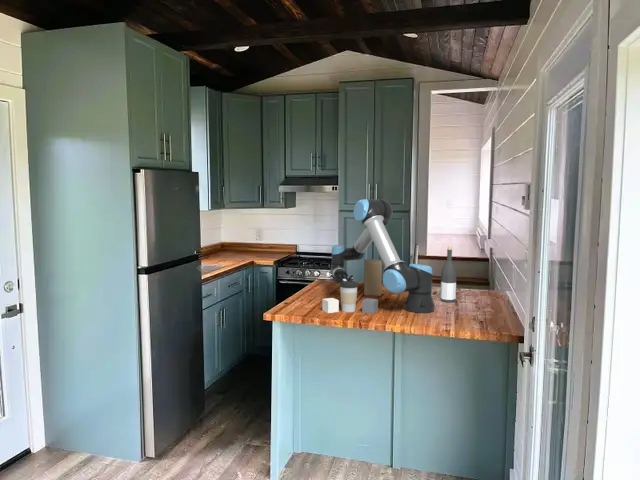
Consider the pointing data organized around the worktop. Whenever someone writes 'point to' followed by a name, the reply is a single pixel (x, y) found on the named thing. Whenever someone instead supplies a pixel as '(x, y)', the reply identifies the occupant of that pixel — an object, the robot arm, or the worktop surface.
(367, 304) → the charcoal block
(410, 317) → the worktop surface
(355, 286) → the coffee cup
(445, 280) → the wine bottle
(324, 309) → the cream block
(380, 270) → the block
